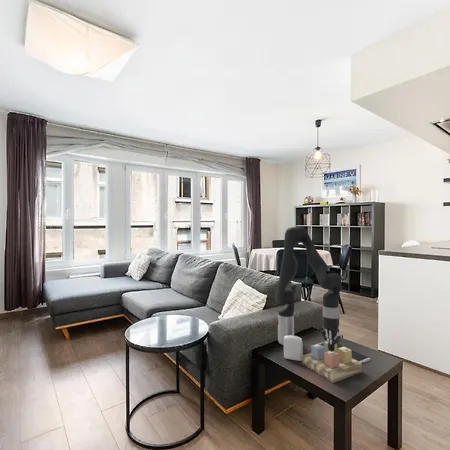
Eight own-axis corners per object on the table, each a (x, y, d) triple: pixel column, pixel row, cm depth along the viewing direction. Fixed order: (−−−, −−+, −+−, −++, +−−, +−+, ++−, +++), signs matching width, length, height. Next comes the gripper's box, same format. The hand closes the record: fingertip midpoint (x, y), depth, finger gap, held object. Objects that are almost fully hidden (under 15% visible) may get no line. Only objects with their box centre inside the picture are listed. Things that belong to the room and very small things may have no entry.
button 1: (311, 357, 148) (311, 344, 147) (317, 355, 150) (317, 343, 150) (317, 360, 143) (317, 348, 143) (324, 358, 146) (324, 346, 145)
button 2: (323, 353, 152) (323, 341, 152) (330, 351, 154) (330, 339, 154) (330, 356, 148) (330, 344, 147) (337, 354, 150) (336, 342, 150)
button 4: (337, 360, 144) (337, 347, 144) (344, 358, 146) (343, 345, 146) (345, 364, 139) (345, 351, 139) (351, 362, 142) (351, 349, 142)
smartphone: (354, 367, 146) (354, 364, 146) (314, 347, 170) (314, 344, 170) (371, 361, 152) (371, 358, 152) (330, 342, 176) (330, 339, 176)
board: (302, 364, 149) (302, 355, 149) (330, 355, 158) (329, 347, 158) (332, 383, 131) (332, 373, 131) (361, 372, 140) (361, 362, 140)
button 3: (324, 364, 140) (324, 351, 139) (331, 362, 142) (331, 349, 142) (331, 368, 135) (331, 355, 135) (338, 366, 137) (338, 353, 137)
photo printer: (283, 358, 155) (282, 336, 155) (284, 355, 159) (284, 333, 159) (302, 362, 151) (302, 338, 151) (303, 358, 155) (303, 335, 155)
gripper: (315, 312, 142) (315, 347, 143) (336, 320, 131) (336, 358, 131) (325, 310, 146) (326, 344, 146) (347, 317, 134) (348, 354, 134)
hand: (331, 350), depth 138 cm, fingers closed
